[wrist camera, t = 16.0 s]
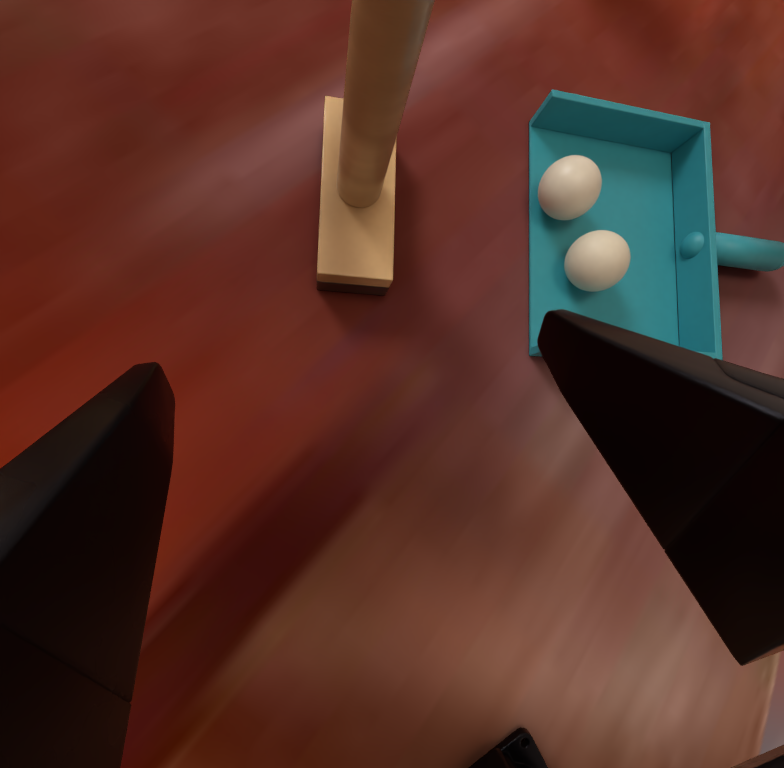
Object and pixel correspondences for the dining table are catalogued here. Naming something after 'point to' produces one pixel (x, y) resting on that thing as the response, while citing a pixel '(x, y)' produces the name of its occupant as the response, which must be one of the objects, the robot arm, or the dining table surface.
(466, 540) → the dining table surface
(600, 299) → the dustpan
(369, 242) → the brush
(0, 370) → the dining table surface
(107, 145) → the dining table surface
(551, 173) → the cream oval piece
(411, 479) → the dining table surface
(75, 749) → the robot arm
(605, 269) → the beige rounded piece
